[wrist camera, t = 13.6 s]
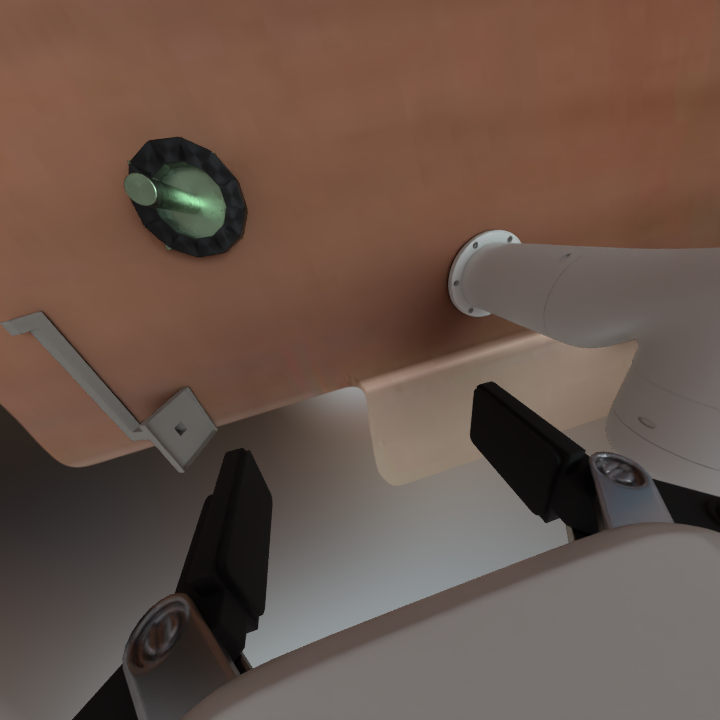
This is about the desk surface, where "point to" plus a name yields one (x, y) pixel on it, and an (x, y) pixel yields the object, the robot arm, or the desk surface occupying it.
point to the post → (181, 199)
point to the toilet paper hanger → (164, 427)
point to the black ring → (182, 152)
